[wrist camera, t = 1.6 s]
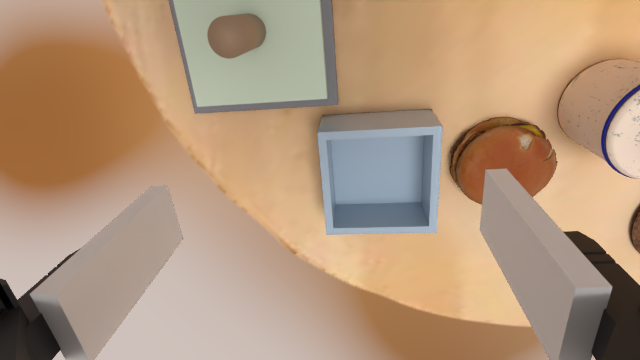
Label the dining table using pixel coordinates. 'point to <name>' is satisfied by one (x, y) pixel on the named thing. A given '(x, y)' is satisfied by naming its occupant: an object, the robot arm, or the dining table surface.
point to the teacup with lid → (606, 113)
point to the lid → (253, 50)
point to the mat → (331, 100)
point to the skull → (636, 233)
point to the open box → (380, 171)
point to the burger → (503, 156)
